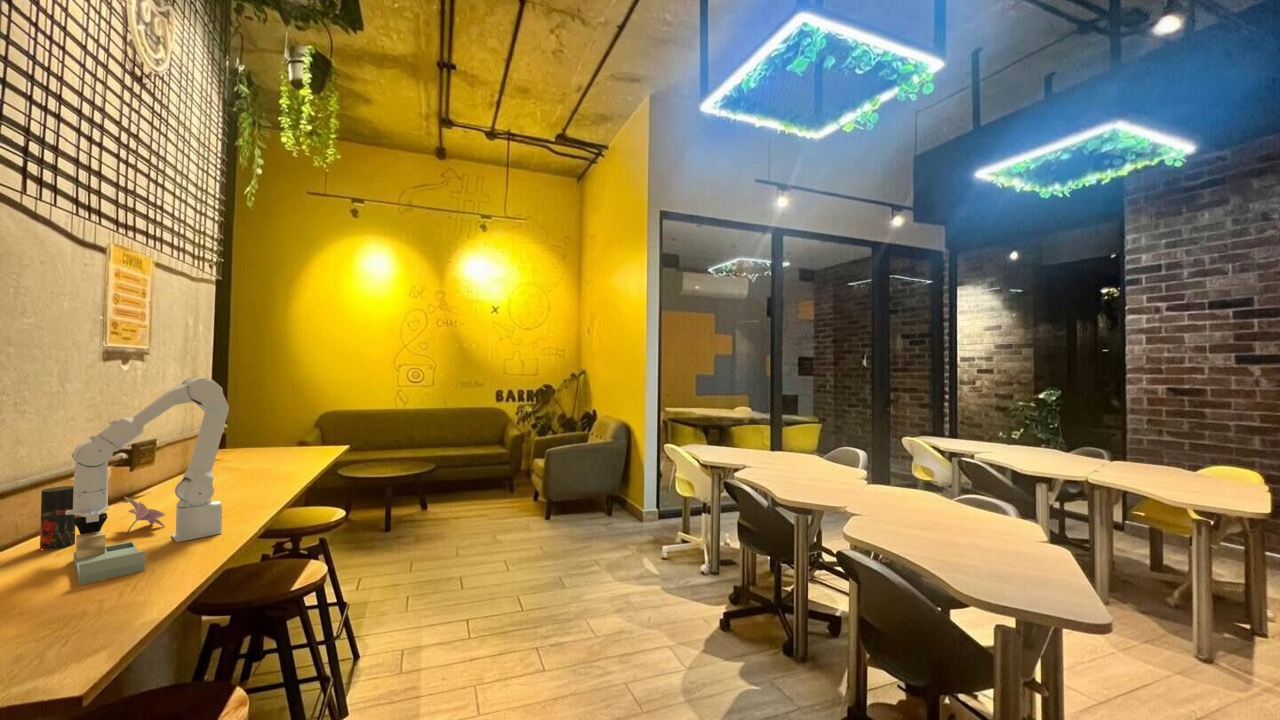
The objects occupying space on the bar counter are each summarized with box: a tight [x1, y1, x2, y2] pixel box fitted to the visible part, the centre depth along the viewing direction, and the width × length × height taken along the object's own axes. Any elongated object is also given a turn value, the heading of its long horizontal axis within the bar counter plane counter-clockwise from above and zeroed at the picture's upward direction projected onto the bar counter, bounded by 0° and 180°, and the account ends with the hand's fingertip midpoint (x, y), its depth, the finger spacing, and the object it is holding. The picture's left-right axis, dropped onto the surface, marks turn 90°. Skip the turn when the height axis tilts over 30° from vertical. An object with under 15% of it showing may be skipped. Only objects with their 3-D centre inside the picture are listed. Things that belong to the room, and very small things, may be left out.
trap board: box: [73, 540, 146, 586], centre depth 116 cm, size 10×21×4 cm, turn 51°
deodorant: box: [39, 485, 77, 551], centre depth 128 cm, size 6×6×15 cm
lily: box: [123, 496, 166, 535], centre depth 141 cm, size 12×12×10 cm
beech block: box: [75, 530, 106, 559], centre depth 118 cm, size 4×4×4 cm
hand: (89, 545), depth 121 cm, fingers closed
